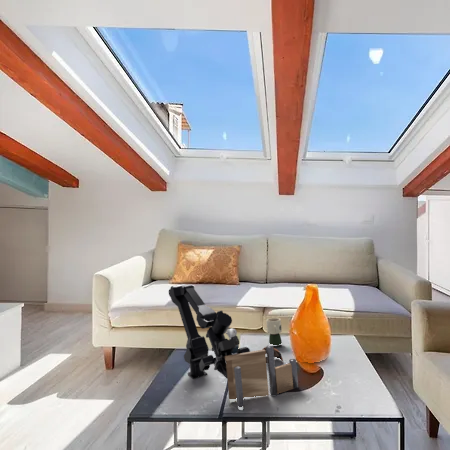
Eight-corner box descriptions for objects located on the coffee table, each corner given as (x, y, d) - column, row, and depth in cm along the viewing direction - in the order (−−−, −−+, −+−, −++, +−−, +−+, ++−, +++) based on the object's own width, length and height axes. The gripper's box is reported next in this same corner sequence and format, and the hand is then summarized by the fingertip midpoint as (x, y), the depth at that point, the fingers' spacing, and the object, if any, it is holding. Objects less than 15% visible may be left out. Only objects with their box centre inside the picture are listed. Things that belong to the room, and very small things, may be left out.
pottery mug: (287, 366, 162) (278, 352, 159) (268, 377, 161) (259, 363, 159) (279, 350, 173) (271, 336, 171) (261, 361, 173) (252, 347, 171)
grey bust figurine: (239, 348, 188) (237, 326, 188) (238, 354, 180) (236, 330, 180) (227, 349, 188) (225, 327, 188) (226, 355, 180) (224, 331, 180)
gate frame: (233, 406, 129) (229, 356, 129) (295, 385, 141) (291, 339, 141) (240, 411, 125) (235, 359, 125) (303, 389, 137) (299, 342, 137)
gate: (228, 401, 132) (224, 355, 132) (268, 393, 135) (264, 349, 135) (229, 403, 130) (225, 357, 130) (269, 395, 134) (265, 350, 134)
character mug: (284, 349, 181) (282, 321, 181) (269, 350, 181) (267, 323, 181) (281, 341, 192) (279, 316, 192) (267, 343, 192) (265, 317, 192)
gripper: (199, 334, 133) (215, 376, 124) (246, 324, 142) (264, 363, 132) (193, 350, 141) (207, 391, 131) (238, 340, 149) (254, 378, 139)
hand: (233, 380), depth 133 cm, fingers closed
